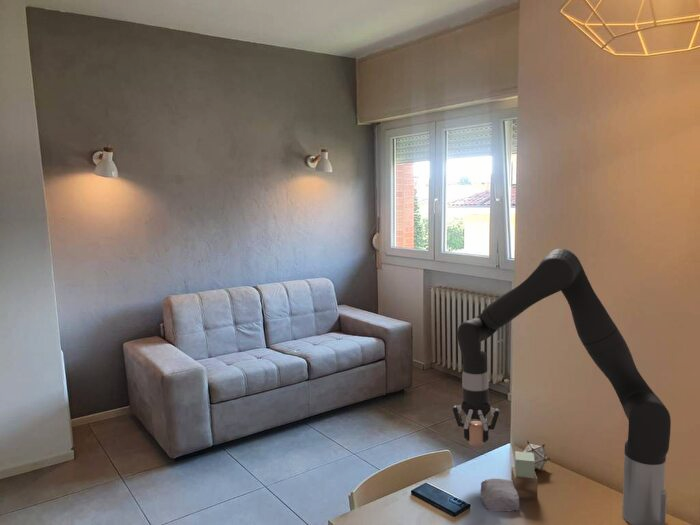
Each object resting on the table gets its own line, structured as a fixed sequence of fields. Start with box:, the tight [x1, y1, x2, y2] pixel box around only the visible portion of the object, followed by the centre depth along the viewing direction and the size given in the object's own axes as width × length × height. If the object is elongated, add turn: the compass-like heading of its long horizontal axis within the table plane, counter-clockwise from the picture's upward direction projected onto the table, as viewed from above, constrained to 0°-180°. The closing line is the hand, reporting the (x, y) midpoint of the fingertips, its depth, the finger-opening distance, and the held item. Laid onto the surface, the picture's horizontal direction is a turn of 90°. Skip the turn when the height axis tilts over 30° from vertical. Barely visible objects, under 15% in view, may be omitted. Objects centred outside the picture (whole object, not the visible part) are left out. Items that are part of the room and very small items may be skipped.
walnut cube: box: [510, 466, 539, 500], centre depth 152 cm, size 6×6×6 cm
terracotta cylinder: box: [468, 420, 485, 447], centre depth 159 cm, size 4×4×6 cm
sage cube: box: [514, 450, 536, 478], centre depth 151 cm, size 5×5×5 cm
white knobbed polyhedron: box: [522, 440, 551, 473], centre depth 164 cm, size 9×8×10 cm
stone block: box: [479, 477, 520, 512], centre depth 149 cm, size 12×5×10 cm
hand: (476, 440), depth 160 cm, fingers closed on terracotta cylinder, 4 cm apart
